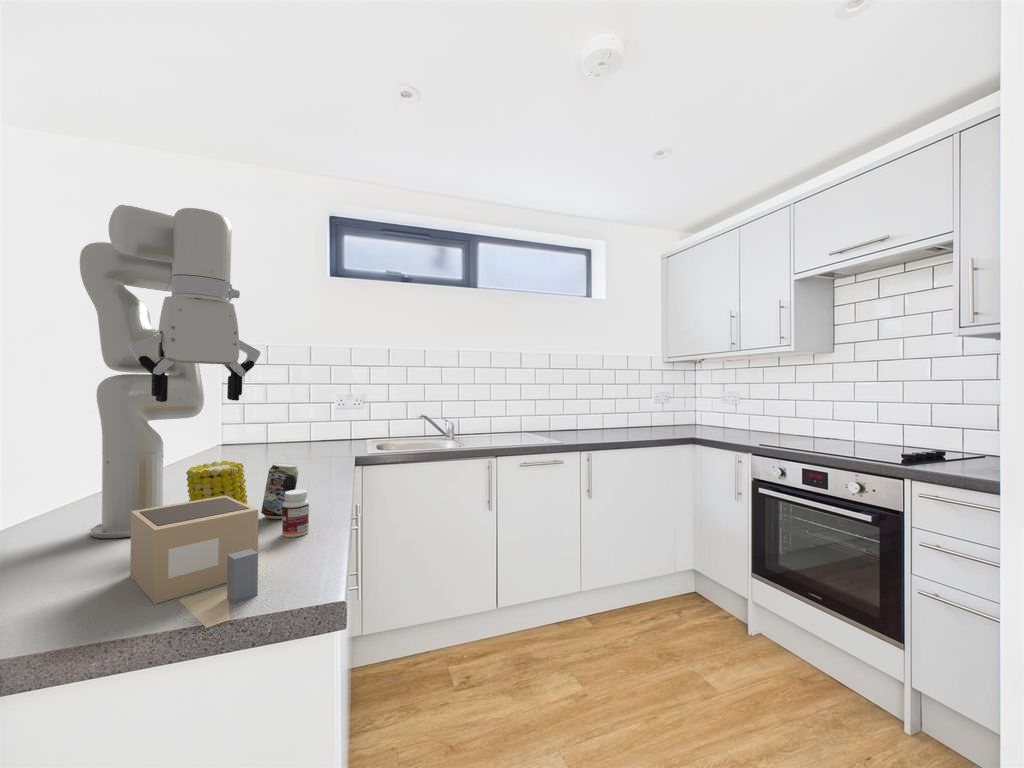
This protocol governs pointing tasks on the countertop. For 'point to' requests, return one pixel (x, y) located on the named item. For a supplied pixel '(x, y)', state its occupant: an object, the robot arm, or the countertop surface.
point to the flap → (227, 589)
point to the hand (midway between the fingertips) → (199, 400)
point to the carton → (188, 545)
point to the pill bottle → (295, 513)
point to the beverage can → (278, 488)
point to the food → (217, 481)
